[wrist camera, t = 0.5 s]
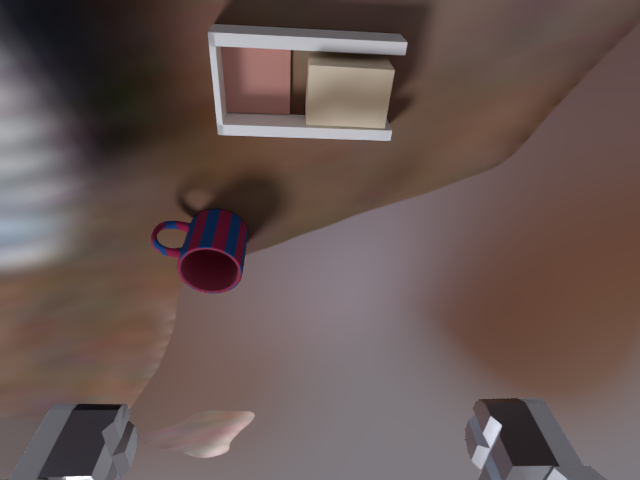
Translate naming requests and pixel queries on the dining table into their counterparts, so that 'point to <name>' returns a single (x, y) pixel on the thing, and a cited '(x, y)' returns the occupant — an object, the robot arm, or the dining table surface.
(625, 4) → the dining table surface
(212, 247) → the mug
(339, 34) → the white u-shaped frame
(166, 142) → the dining table surface
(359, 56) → the block
